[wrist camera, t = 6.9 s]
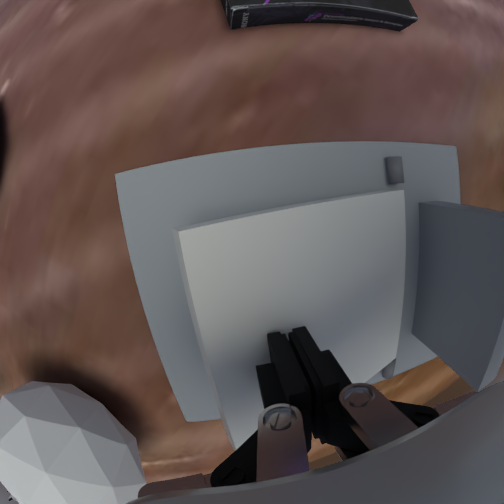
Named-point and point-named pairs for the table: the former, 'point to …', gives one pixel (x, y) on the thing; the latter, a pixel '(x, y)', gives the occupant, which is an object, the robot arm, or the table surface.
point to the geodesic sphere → (65, 448)
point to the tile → (294, 290)
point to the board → (313, 189)
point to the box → (320, 12)
